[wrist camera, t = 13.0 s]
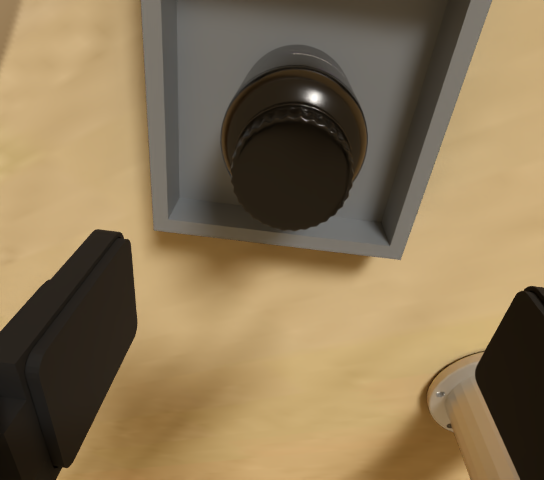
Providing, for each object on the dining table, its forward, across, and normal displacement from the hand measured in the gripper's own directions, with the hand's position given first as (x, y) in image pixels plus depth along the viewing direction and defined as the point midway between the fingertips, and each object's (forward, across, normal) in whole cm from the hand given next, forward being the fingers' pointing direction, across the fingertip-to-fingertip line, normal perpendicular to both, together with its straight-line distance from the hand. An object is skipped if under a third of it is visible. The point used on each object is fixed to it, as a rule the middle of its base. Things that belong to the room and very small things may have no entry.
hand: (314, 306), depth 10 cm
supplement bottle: (+19, +1, -1) cm, 19 cm away
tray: (+19, +1, -1) cm, 19 cm away
